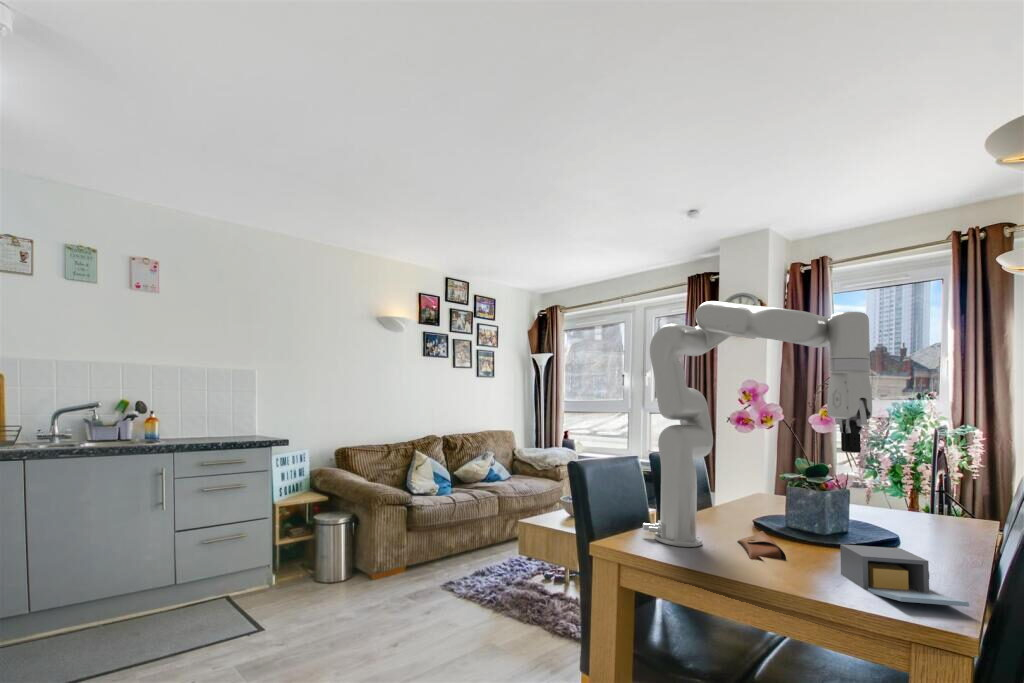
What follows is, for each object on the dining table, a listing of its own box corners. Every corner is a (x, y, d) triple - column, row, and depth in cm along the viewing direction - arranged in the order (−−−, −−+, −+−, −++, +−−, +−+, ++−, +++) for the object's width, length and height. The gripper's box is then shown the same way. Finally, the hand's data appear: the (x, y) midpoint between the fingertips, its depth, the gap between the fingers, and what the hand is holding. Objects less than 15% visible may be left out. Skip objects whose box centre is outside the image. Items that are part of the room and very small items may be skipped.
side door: (868, 592, 110) (900, 601, 99) (867, 588, 110) (900, 596, 100) (929, 597, 109) (969, 606, 98) (929, 592, 109) (968, 602, 98)
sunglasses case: (734, 540, 148) (747, 520, 148) (757, 555, 146) (770, 535, 146) (749, 559, 130) (764, 537, 130) (776, 577, 129) (791, 554, 129)
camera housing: (863, 592, 111) (862, 556, 111) (840, 577, 120) (840, 544, 120) (937, 598, 109) (936, 561, 110) (909, 582, 118) (908, 549, 119)
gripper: (815, 368, 124) (816, 447, 122) (850, 365, 109) (851, 454, 108) (849, 370, 123) (850, 449, 122) (888, 366, 109) (890, 456, 107)
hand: (850, 451), depth 115 cm, fingers closed
